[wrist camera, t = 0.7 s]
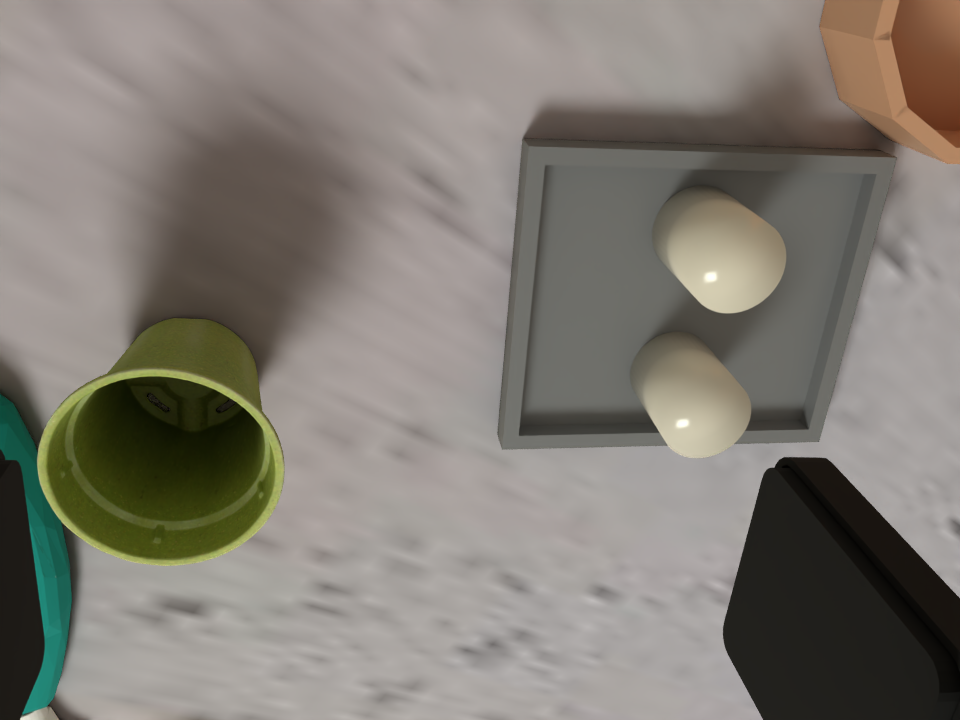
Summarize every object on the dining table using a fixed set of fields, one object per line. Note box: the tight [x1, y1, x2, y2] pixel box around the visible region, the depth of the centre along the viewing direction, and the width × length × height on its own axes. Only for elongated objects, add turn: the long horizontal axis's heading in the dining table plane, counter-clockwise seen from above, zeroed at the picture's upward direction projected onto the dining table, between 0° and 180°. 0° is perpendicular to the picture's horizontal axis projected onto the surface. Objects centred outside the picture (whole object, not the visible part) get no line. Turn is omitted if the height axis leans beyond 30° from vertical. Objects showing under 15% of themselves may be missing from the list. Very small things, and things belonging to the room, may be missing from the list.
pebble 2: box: [630, 332, 751, 458], centre depth 44 cm, size 4×4×5 cm
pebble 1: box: [652, 185, 786, 313], centre depth 41 cm, size 4×4×5 cm
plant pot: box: [37, 318, 284, 566], centre depth 39 cm, size 9×9×9 cm
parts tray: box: [498, 139, 897, 450], centre depth 44 cm, size 16×18×2 cm
